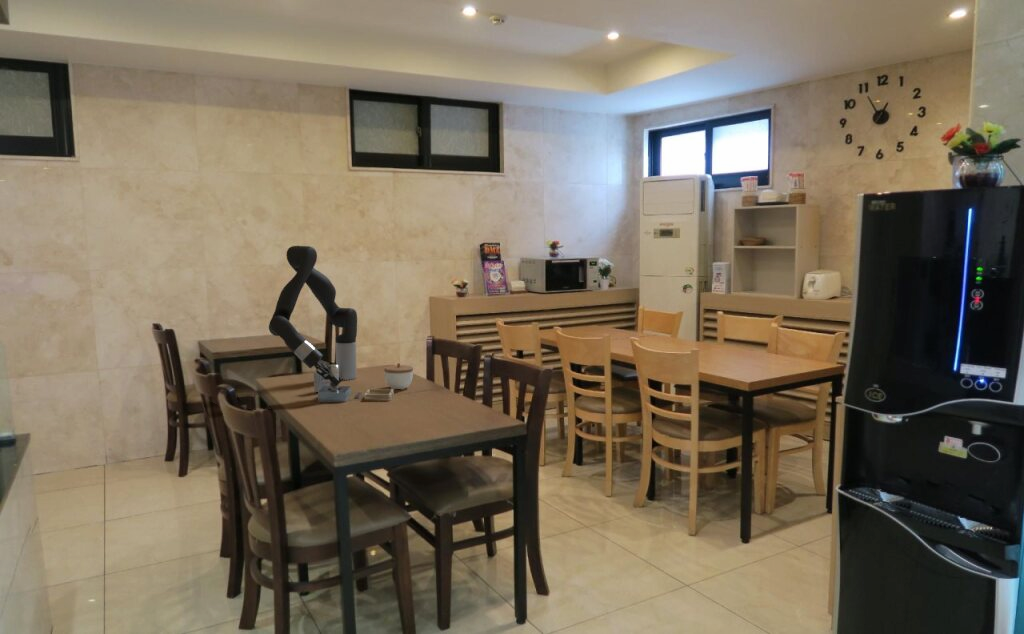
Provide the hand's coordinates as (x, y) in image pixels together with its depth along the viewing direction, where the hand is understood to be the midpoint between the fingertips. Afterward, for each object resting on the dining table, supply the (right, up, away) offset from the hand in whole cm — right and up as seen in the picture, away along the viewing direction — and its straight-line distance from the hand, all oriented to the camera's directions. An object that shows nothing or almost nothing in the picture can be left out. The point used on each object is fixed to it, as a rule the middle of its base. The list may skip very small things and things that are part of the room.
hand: (339, 383), depth 276 cm
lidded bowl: (+21, -5, +22) cm, 30 cm away
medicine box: (-10, -5, +14) cm, 18 cm away
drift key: (+7, -6, +5) cm, 11 cm away
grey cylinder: (-2, -7, +1) cm, 7 cm away
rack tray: (+16, -6, +3) cm, 17 cm away
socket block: (-2, -7, +1) cm, 7 cm away
